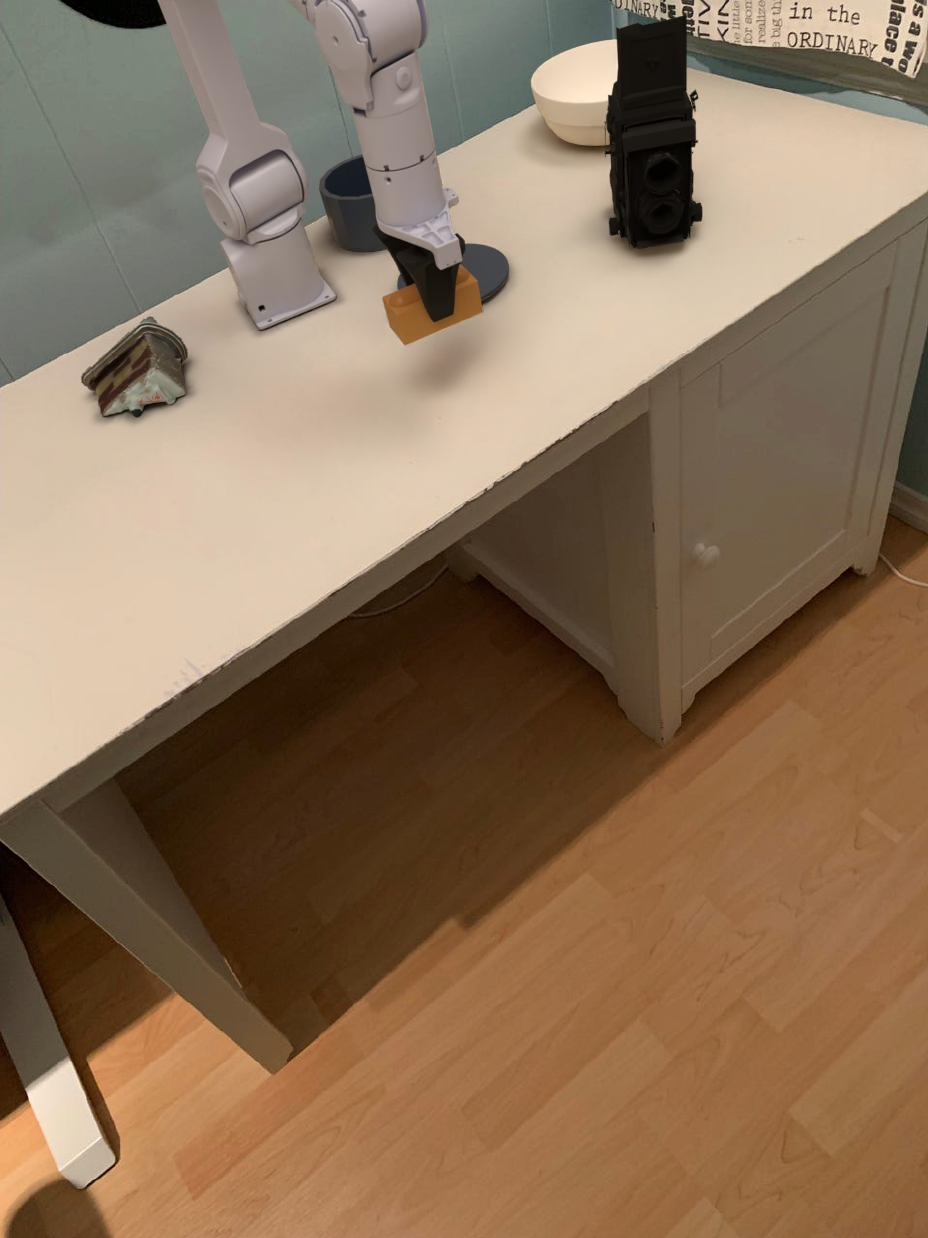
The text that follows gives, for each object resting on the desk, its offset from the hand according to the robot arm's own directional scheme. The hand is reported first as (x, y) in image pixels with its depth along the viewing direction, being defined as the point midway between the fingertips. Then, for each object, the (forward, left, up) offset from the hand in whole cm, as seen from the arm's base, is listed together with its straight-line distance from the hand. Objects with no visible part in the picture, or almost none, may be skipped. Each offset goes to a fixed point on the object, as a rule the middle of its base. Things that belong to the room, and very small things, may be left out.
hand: (433, 306), depth 80 cm
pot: (+6, +34, -8) cm, 36 cm away
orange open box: (0, 0, -1) cm, 1 cm away
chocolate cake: (-28, +19, -9) cm, 35 cm away
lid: (+8, +16, -8) cm, 20 cm away
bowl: (+39, +35, -9) cm, 53 cm away
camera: (+30, +10, -9) cm, 33 cm away
